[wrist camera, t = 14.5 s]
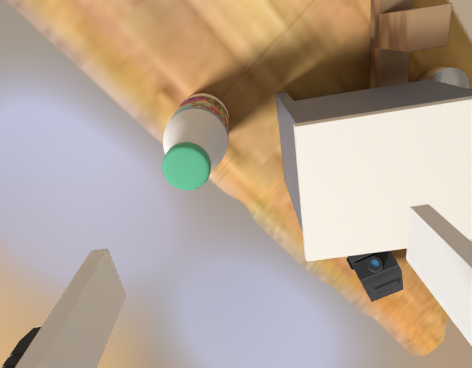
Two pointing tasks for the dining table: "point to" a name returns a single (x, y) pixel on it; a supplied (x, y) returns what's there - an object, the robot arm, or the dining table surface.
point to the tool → (377, 273)
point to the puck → (447, 76)
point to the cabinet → (376, 164)
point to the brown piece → (403, 37)
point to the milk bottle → (195, 141)
